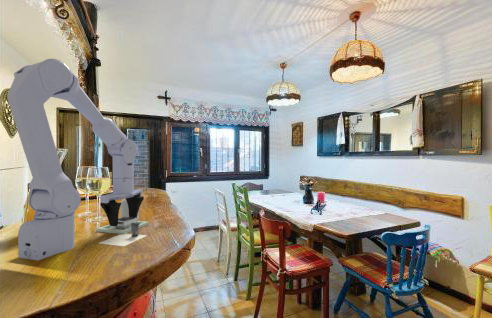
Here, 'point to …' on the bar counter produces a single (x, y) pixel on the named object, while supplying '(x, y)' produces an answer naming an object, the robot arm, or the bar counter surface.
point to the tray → (118, 231)
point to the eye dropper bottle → (125, 209)
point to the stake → (135, 229)
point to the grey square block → (124, 223)
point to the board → (122, 240)
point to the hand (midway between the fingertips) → (123, 222)
